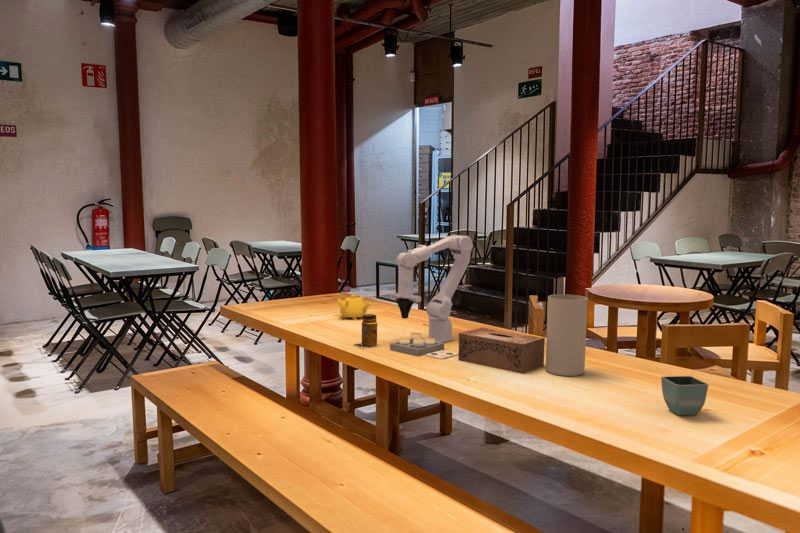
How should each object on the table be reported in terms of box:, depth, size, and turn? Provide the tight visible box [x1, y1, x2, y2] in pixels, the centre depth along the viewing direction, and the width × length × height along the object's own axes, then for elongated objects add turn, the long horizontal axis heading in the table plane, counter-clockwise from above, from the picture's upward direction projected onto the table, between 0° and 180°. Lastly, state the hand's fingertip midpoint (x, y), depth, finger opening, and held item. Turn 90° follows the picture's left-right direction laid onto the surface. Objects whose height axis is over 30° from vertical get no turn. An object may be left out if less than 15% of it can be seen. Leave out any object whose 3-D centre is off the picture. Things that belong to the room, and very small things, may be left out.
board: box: [389, 338, 445, 357], centre depth 240 cm, size 15×14×2 cm
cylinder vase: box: [545, 294, 589, 377], centre depth 209 cm, size 12×12×25 cm
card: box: [424, 349, 459, 360], centre depth 232 cm, size 10×8×1 cm
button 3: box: [413, 337, 425, 348], centre depth 235 cm, size 4×4×3 cm
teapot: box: [336, 294, 372, 320], centre depth 304 cm, size 20×18×11 cm
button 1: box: [398, 337, 411, 345], centre depth 239 cm, size 4×4×3 cm
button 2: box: [410, 332, 422, 342], centre depth 244 cm, size 4×4×3 cm
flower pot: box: [660, 375, 709, 416], centre depth 169 cm, size 9×9×9 cm
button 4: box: [424, 337, 435, 346], centre depth 239 cm, size 4×4×3 cm
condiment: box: [353, 313, 382, 349], centre depth 245 cm, size 7×8×12 cm
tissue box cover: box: [457, 327, 546, 374], centre depth 221 cm, size 26×14×10 cm, turn 48°
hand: (404, 318), depth 248 cm, fingers closed
